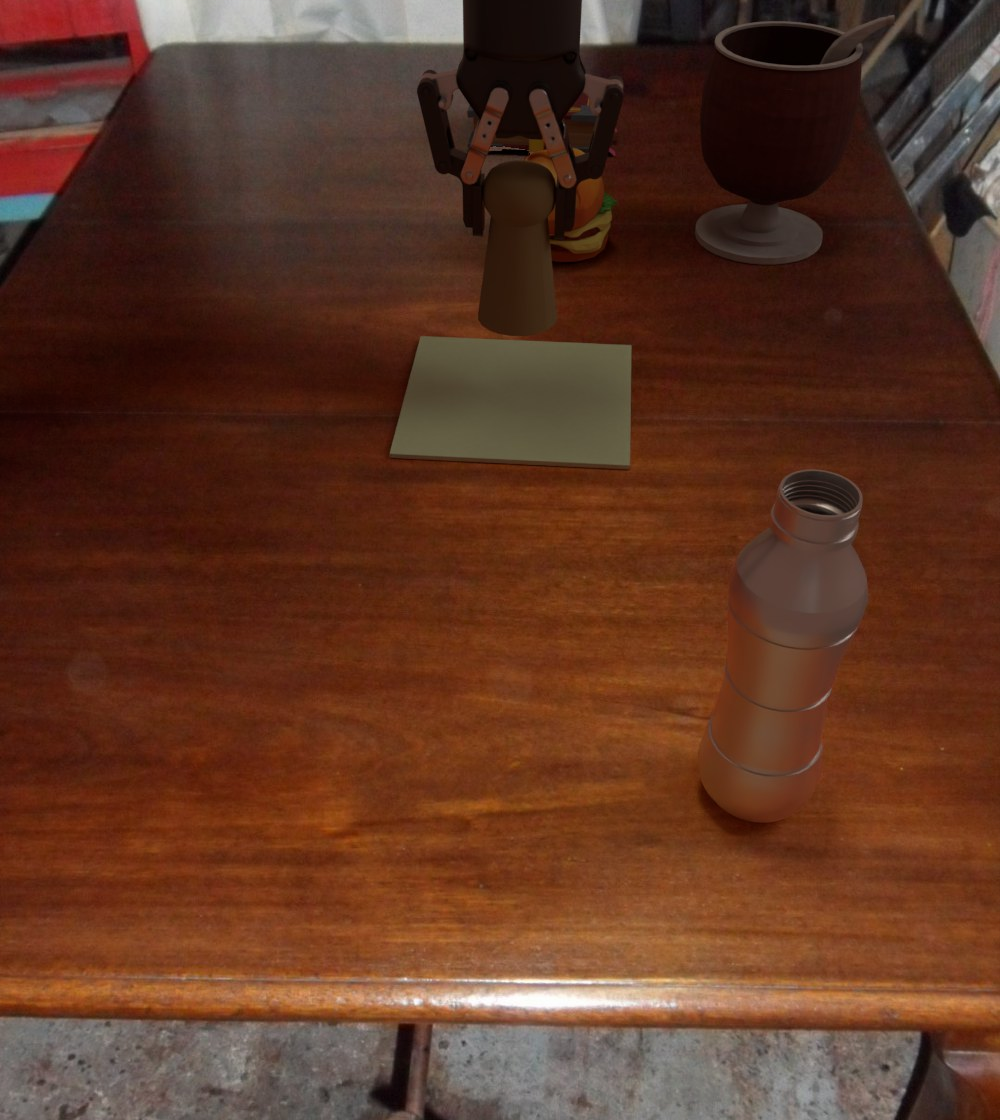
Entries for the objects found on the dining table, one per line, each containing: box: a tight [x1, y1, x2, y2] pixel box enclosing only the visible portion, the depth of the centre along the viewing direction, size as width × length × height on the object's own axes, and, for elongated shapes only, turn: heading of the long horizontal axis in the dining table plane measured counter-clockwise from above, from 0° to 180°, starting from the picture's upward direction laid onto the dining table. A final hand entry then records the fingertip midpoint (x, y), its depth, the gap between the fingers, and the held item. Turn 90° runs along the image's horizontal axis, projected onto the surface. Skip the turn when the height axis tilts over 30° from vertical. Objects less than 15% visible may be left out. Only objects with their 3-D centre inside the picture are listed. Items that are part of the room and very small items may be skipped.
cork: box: [477, 159, 558, 337], centre depth 86 cm, size 6×6×11 cm
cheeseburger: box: [523, 148, 619, 263], centre depth 111 cm, size 10×11×10 cm
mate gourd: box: [694, 14, 896, 266], centre depth 109 cm, size 16×14×20 cm
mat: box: [389, 335, 633, 471], centre depth 95 cm, size 18×18×1 cm
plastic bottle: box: [697, 468, 869, 824], centre depth 59 cm, size 6×7×20 cm
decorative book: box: [466, 93, 618, 157], centre depth 132 cm, size 11×16×5 cm
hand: (518, 232), depth 85 cm, fingers closed on cork, 5 cm apart
